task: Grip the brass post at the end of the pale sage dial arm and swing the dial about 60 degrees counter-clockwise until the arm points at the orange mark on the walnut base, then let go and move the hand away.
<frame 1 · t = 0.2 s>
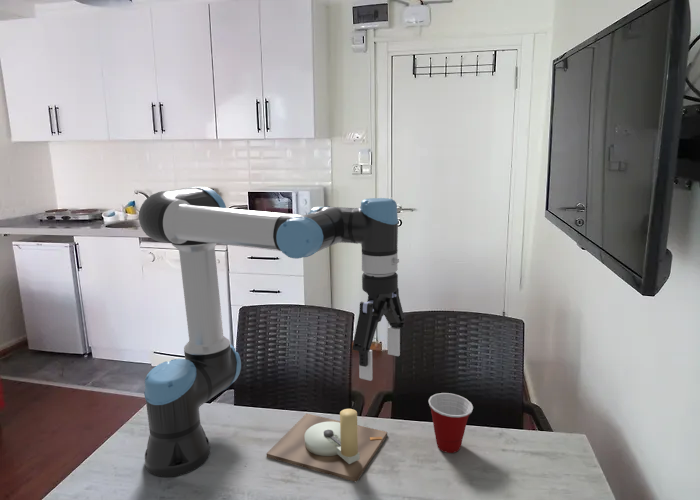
hand: (380, 366, 111), 27 cm above the table, tool pointing down, fingers open, 13 cm apart
plastic cup: (449, 447, 126), on the table
base plate: (328, 445, 128), on the table
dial: (333, 424, 124), point 7 cm above the table, hinge at 0.0°
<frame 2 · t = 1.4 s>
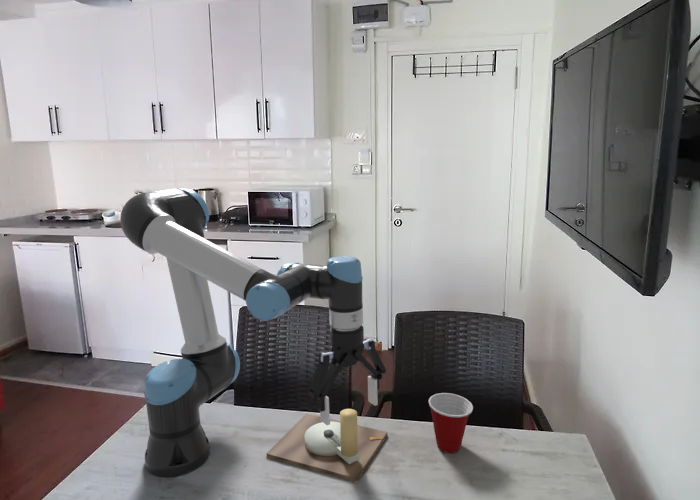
hand: (349, 412, 117), 13 cm above the table, tool pointing down, fingers open, 13 cm apart
nothing on the table moved.
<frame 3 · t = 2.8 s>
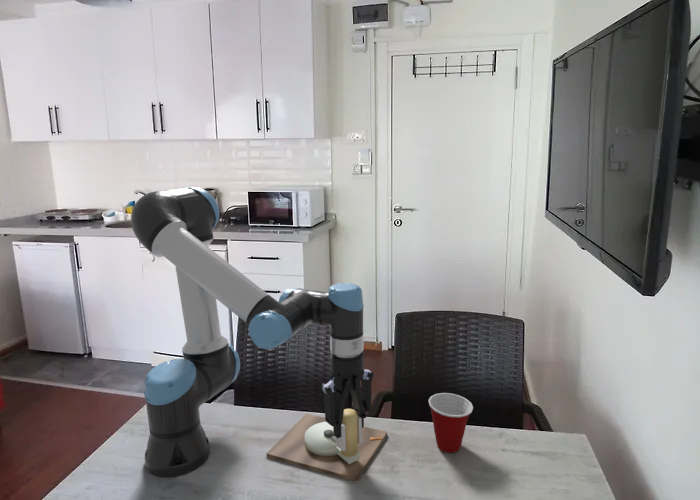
hand: (349, 444, 119), 5 cm above the table, tool pointing down, fingers closed on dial, 4 cm apart
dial: (333, 424, 124), point 7 cm above the table, hinge at 0.1°, touching gripper
everything else where it was.
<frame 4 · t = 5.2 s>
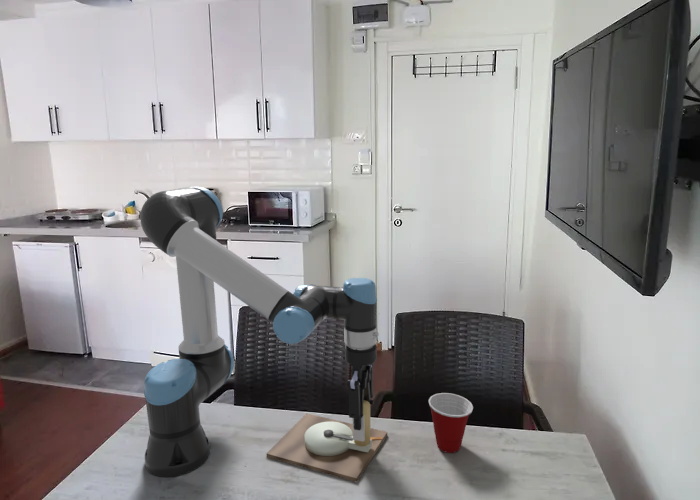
hand: (361, 434, 123), 5 cm above the table, tool pointing down, fingers closed on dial, 4 cm apart
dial: (337, 421, 125), point 7 cm above the table, hinge at 32.8°, touching gripper
everything else where it was.
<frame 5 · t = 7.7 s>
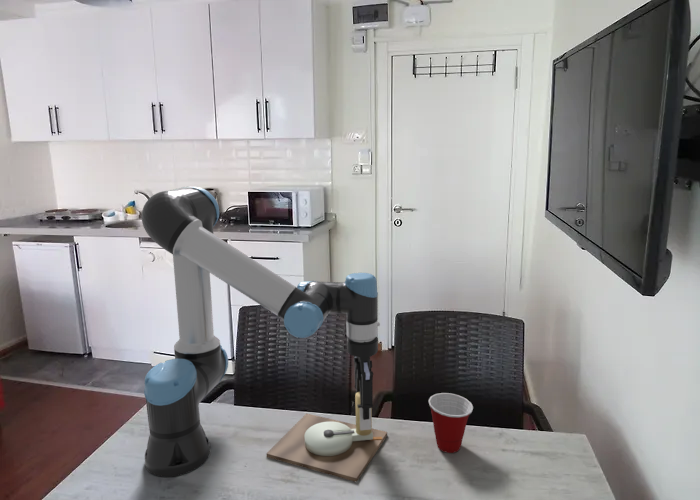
hand: (363, 423, 128), 5 cm above the table, tool pointing down, fingers closed on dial, 4 cm apart
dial: (338, 419, 126), point 7 cm above the table, hinge at 62.2°, touching gripper
everything else where it was.
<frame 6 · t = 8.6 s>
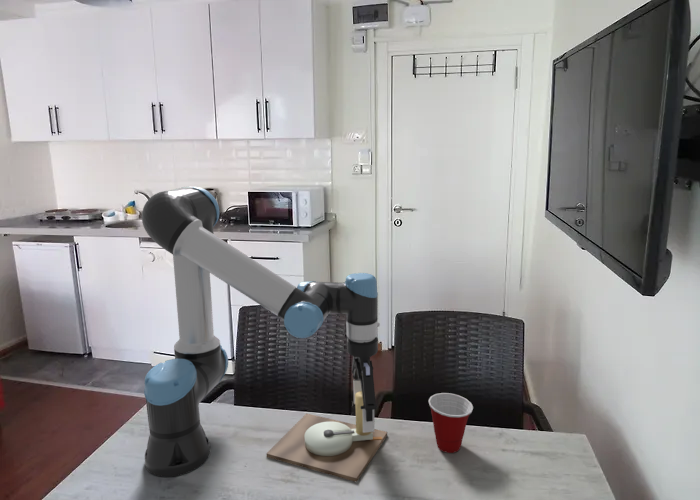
hand: (363, 416, 127), 7 cm above the table, tool pointing down, fingers open, 13 cm apart
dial: (338, 419, 126), point 7 cm above the table, hinge at 62.3°
everything else where it was.
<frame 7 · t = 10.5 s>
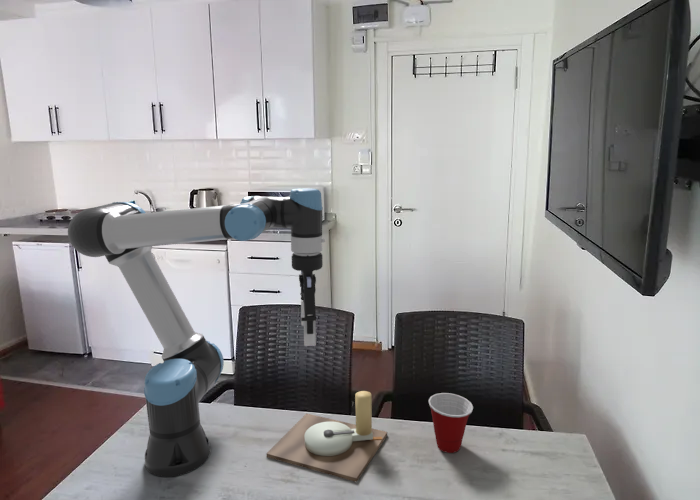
hand: (308, 334, 128), 27 cm above the table, tool pointing down, fingers open, 13 cm apart
nothing on the table moved.
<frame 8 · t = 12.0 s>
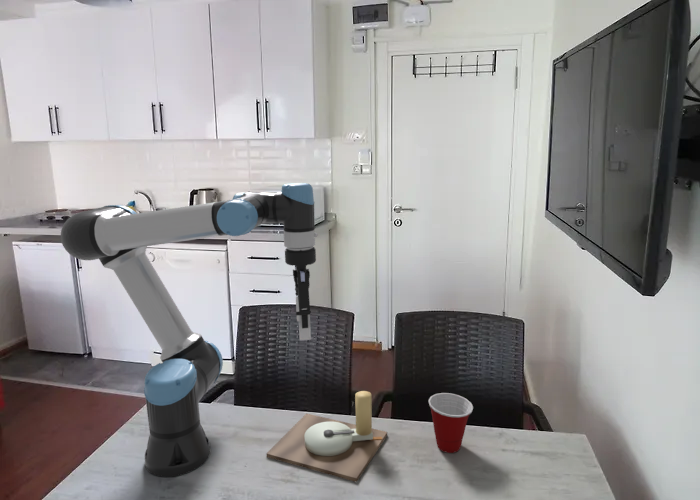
hand: (303, 329, 128), 29 cm above the table, tool pointing down, fingers open, 13 cm apart
nothing on the table moved.
at the end: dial at +62° (first picture: +0°); plastic cup moved 0.2 cm from its start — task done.
